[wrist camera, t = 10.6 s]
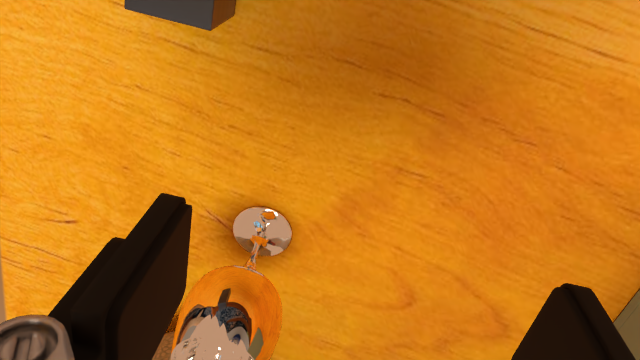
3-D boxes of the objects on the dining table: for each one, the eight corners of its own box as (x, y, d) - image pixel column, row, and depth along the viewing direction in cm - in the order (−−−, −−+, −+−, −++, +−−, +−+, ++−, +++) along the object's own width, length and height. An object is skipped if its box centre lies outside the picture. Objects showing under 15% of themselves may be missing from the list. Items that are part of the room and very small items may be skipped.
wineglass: (213, 243, 35) (147, 379, 25) (240, 185, 32) (177, 311, 22) (282, 273, 36) (246, 417, 25) (314, 219, 33) (287, 356, 23)
